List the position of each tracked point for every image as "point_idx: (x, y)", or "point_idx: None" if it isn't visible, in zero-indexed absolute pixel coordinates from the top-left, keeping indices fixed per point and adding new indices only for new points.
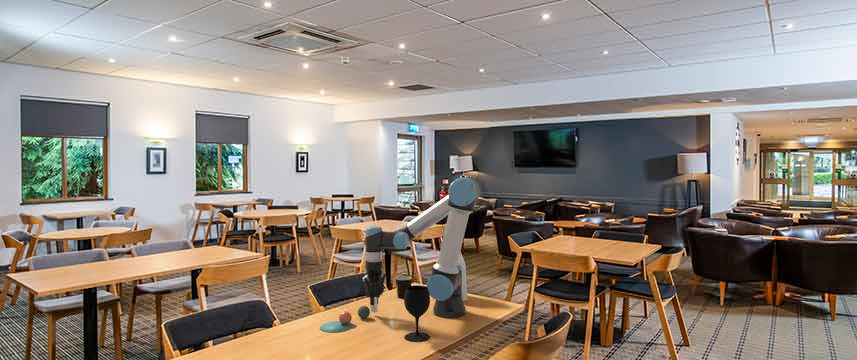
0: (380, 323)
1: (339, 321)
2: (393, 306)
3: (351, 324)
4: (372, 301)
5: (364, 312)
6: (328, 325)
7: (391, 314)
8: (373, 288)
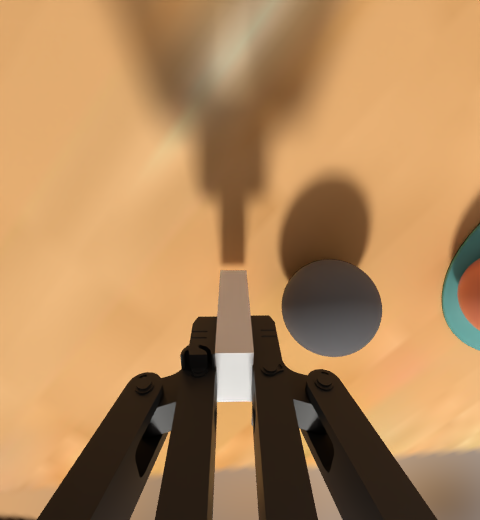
0: (332, 96)
1: (459, 327)
2: (6, 332)
3: (477, 236)
4: (272, 341)
5: (367, 278)
6: None
7: (115, 212)
8: (292, 494)
